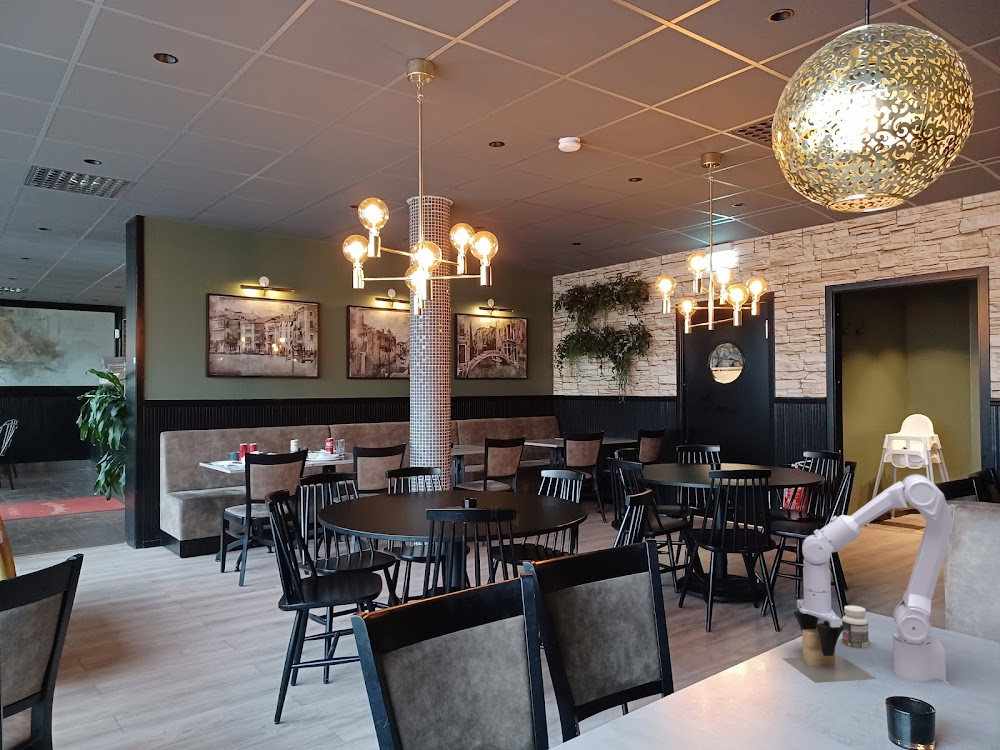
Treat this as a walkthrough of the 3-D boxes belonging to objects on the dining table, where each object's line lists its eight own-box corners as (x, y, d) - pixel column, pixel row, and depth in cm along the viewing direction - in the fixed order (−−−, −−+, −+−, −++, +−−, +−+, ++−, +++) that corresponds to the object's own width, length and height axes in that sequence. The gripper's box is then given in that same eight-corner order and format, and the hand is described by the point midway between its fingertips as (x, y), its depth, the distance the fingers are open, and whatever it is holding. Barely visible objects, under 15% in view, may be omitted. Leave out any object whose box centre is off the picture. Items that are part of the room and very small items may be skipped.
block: (827, 659, 164) (826, 628, 164) (835, 663, 161) (834, 632, 161) (803, 660, 164) (802, 629, 164) (810, 665, 161) (809, 634, 161)
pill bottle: (839, 644, 177) (838, 604, 177) (863, 645, 176) (862, 605, 176) (847, 653, 171) (846, 611, 171) (872, 654, 170) (871, 612, 171)
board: (839, 660, 167) (838, 654, 167) (877, 684, 153) (877, 678, 153) (782, 663, 165) (782, 658, 165) (815, 688, 151) (815, 682, 151)
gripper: (784, 581, 170) (785, 639, 169) (818, 599, 155) (819, 662, 155) (812, 580, 170) (813, 637, 170) (848, 597, 156) (850, 660, 156)
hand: (818, 649), depth 162 cm, fingers open, 7 cm apart
